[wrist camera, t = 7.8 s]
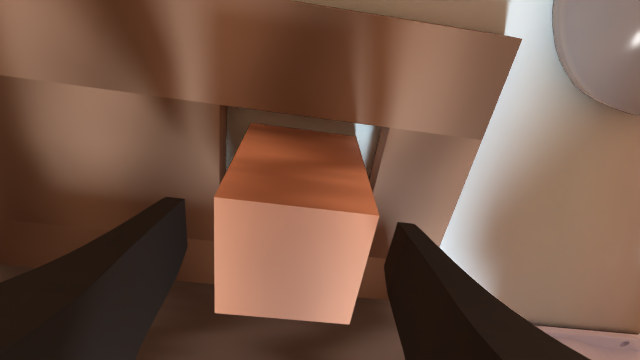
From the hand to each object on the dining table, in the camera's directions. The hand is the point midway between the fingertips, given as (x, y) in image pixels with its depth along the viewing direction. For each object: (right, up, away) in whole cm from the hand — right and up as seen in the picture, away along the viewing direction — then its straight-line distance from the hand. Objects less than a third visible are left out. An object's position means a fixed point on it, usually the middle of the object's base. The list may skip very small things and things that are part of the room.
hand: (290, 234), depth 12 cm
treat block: (0, +2, +4) cm, 4 cm away
